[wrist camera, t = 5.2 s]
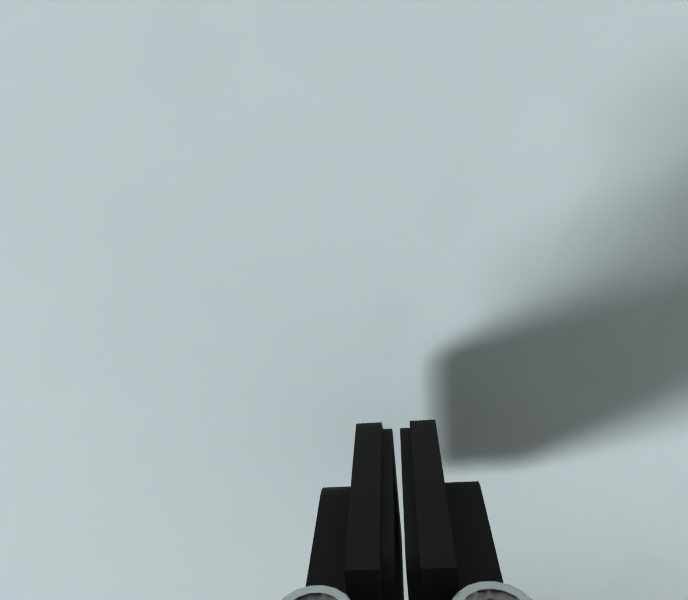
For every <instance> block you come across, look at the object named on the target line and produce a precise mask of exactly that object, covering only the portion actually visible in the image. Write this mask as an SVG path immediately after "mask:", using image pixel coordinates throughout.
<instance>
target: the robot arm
mask: <svg viewBox="0 0 688 600" xmlns="http://www.w3.org/2000/svg"><path fill="white" fill-rule="evenodd" d="M400 438H401V461H402V485H403V508H404V532H405V555H406V572H407V585H408V597H409V600H532V599H531V598H530V597H529V596H527V595H526V594H525V593H524V592H523V591H521V590H519V589H517V588H515V587H513V586H511V585H509V584H504V583H503V580H502V575H501V571H500V567H499V563H498V559H497V554H496V550H495V546H494V542H493V538H492V533H491V529H490V525H489V521H488V517H487V512H486V508H485V504H484V500H483V496H482V491H481V487H480V484H479V482H478V481H476V482H451V483H445V482H444V476H443V469H442V462H441V456H440V449H439V442H438V435H437V429H436V422H435V420H419V421H410V428H400ZM282 600H404V588H403V560H402V538H401V524H400V513H399V501H398V490H397V478H396V467H395V455H394V443H393V432H392V429H383V427H382V422H381V423H361V424H356V433H355V445H354V456H353V468H352V479H351V487H329V488H323V489H322V491H321V495H320V501H319V507H318V514H317V520H316V526H315V532H314V539H313V545H312V551H311V557H310V564H309V570H308V576H307V582H306V587H304V588H300V589H297V590H295V591H294V592H292V593H290V594H288V595H287V596H285V597H284V598H283V599H282Z"/></svg>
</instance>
